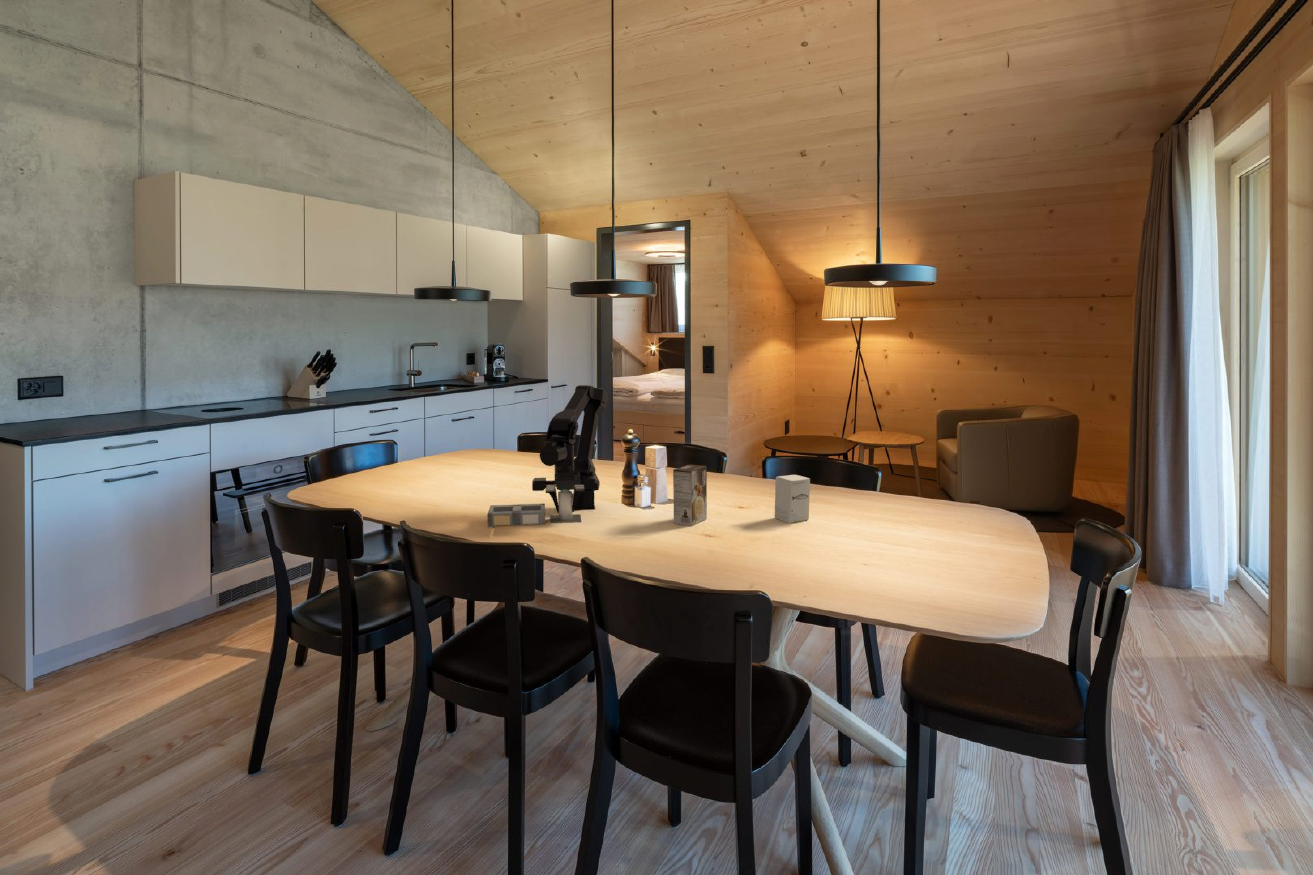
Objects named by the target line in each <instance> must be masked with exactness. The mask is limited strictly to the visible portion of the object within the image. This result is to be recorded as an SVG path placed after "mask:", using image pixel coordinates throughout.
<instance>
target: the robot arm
mask: <svg viewBox="0 0 1313 875" xmlns="http://www.w3.org/2000/svg"><path fill="white" fill-rule="evenodd" d="M609 398H610V397H609V393H608V391H606V390H605V388H597V387H595V386H592V385H590V384H589V385H587V384H586V385H585V384H583V385H582V384H579V385H577V386H575V389H574V393H573V394H572V396H571V398H570V399H569V401H568V403H567V404H566V406H565V407H564V409H563V410H562V411H559V412H557V413H555V415H554V416H553V417H552V418H551V420H550V421H549V423H548V426H547V431H546V434H545V438H544V442H545V446H544V447H542V448H541V450H540V453H539V460H540V461H541V463H542V464H543V465H545V466H547V467H552V466H554V479H553V480H547V477H534V478H532V482H531V489H532V491H533V492H543V491H545V494H549V495H550V497H551V499H552V501H553V505H554V506H555V507H554V508H555V510H556V512H557V513H558V514H559V507H558V492H557V491H561V490H565V489H568V490H569V491H572V513H573V512H574V511H591V510H593V511H594V510H596V506H595V491H599V489H600V484H601V483H600V479H599V478H598V475H597V474H596V467H595V464H594V462H593V454H594V449H595V443H596V442H595V441H596V436H597V430H598V423H599V417H600V416H601V415H602V414H603V413H604V412H605V410H606V408H607V404H608V402H609ZM582 413H583V416H582V417H583V418H582V424H581V430H580V437H579V439H578V440H579V441H578V447H577V452H576V457H575V443H576V436H577V433H578V430H579V427H580V426H579V423H578V421H579V418H580V417H581V415H582Z"/></svg>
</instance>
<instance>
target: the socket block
mask: <svg viewBox="0 0 1313 875" xmlns="http://www.w3.org/2000/svg"><path fill="white" fill-rule="evenodd" d="M487 511H488V512H487V515H486V516H487V528H488V529H489V528H492V529H493V528H496V527H506V526H508V527H509V526H510V527H511V526H531V525H545V524H546V503H525V504H524V503H523V504H520V503H519V504H494V505H493V504H492V505H490V506H489V509H488V510H487Z"/></svg>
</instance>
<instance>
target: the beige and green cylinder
mask: <svg viewBox="0 0 1313 875" xmlns="http://www.w3.org/2000/svg"><path fill="white" fill-rule="evenodd" d="M572 493H573V490H568V489H565V490H558V492H557V499H558V507H559V513H558V515H559V520H571V519H572V515H573V512H572Z"/></svg>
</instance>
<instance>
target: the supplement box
mask: <svg viewBox="0 0 1313 875" xmlns="http://www.w3.org/2000/svg"><path fill="white" fill-rule="evenodd" d="M810 487H811V478H809V477H806V476H802V475H798V474H789V475H779V476H776V477H775V487H774V488H775V489H774V492H775V493H774V518H775V519H777V520H780V521H782V522H785V523H788V524H792V523H798V522H803V521H809V519H810V493H811V492H810V491H811V489H810Z"/></svg>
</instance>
